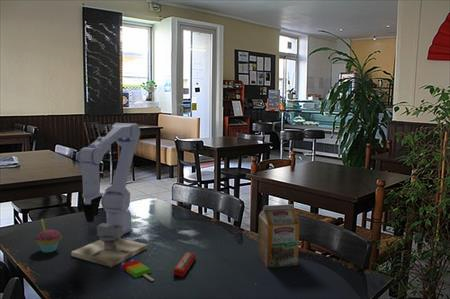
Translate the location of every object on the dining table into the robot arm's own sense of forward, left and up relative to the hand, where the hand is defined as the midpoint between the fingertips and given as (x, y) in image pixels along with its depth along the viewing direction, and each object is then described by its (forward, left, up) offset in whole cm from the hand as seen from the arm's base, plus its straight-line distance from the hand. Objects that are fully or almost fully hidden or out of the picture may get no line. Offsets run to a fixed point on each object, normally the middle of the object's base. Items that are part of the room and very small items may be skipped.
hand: (92, 218), depth 148 cm
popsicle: (+9, +29, -11) cm, 32 cm away
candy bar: (-2, +38, -11) cm, 40 cm away
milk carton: (-22, +62, -11) cm, 67 cm away
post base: (+1, +9, -10) cm, 14 cm away
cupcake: (+10, -11, -11) cm, 18 cm away
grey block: (+1, +9, -6) cm, 11 cm away
